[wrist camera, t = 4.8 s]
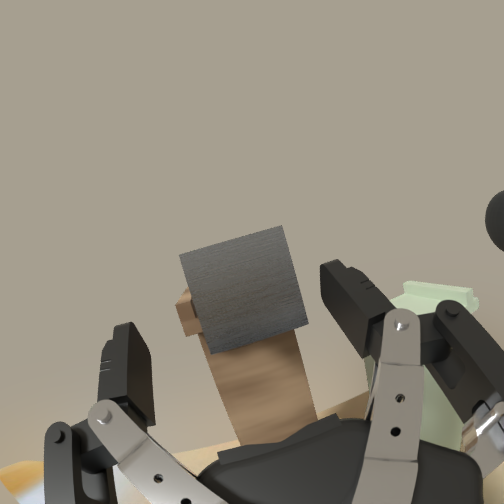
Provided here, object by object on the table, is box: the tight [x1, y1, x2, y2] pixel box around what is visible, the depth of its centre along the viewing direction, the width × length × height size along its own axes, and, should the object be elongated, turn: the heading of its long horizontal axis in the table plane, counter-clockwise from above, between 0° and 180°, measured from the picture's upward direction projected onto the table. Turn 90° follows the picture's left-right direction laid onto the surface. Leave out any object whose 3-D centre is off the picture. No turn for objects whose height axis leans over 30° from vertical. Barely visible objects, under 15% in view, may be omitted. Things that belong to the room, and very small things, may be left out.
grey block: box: [179, 225, 308, 355], centre depth 22 cm, size 22×4×4 cm, turn 8°
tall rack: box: [175, 287, 318, 446], centre depth 27 cm, size 15×12×33 cm
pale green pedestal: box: [364, 281, 479, 451], centre depth 25 cm, size 12×12×27 cm
